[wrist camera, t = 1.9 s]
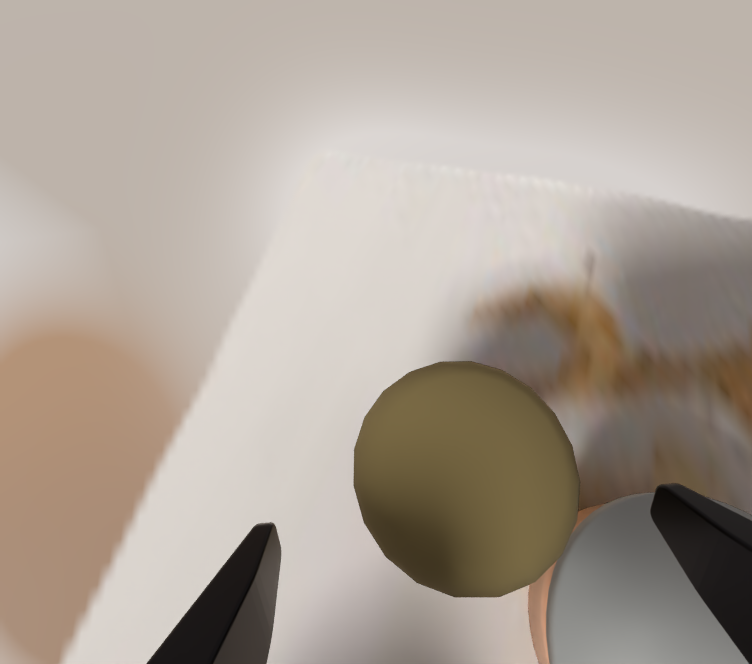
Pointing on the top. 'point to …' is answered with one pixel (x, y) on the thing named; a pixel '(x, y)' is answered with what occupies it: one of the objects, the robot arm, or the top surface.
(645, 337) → the top surface
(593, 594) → the lid
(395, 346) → the top surface
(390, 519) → the cork
